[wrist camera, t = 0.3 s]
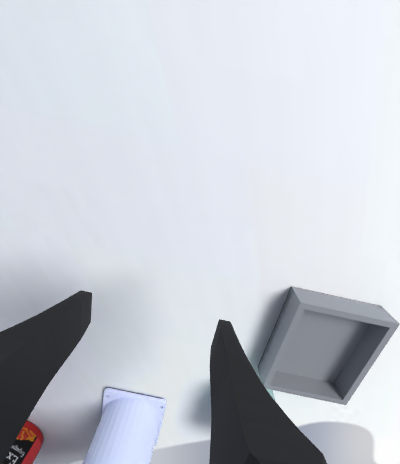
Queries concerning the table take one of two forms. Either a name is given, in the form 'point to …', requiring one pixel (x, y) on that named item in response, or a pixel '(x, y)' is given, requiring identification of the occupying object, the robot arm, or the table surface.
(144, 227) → the table surface
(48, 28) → the table surface
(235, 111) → the table surface
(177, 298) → the table surface
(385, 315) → the gray tray
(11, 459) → the canned food
